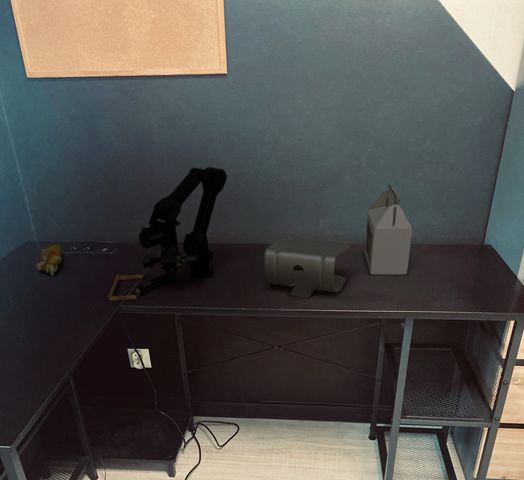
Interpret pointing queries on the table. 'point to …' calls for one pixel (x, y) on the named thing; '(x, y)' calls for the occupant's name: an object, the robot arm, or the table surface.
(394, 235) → the gable box
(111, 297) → the dock
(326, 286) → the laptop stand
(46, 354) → the table surface
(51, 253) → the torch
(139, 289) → the electric trimmer
